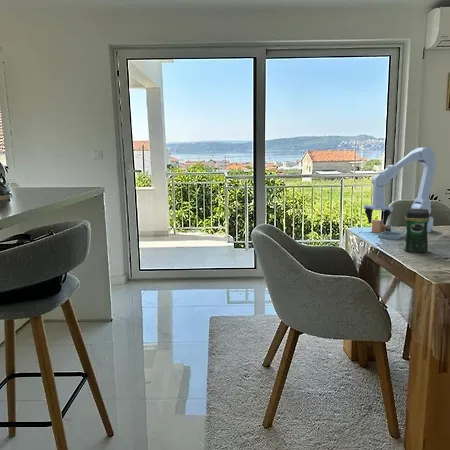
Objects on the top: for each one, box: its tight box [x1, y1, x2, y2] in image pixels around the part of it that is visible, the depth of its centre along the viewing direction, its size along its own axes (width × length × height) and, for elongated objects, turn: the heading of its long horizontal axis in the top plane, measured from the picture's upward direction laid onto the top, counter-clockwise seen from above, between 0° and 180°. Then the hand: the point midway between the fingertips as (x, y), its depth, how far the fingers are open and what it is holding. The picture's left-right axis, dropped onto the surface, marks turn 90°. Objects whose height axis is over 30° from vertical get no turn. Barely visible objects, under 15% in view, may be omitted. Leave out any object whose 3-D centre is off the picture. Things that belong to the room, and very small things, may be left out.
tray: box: [377, 231, 405, 241], centre depth 195 cm, size 9×9×3 cm
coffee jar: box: [403, 208, 430, 253], centre depth 172 cm, size 10×8×19 cm
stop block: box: [371, 219, 383, 234], centre depth 208 cm, size 4×4×6 cm
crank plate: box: [370, 228, 406, 234], centre depth 208 cm, size 14×14×1 cm
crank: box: [382, 223, 392, 231], centre depth 210 cm, size 9×3×5 cm, turn 48°
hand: (377, 223), depth 208 cm, fingers open, 7 cm apart
